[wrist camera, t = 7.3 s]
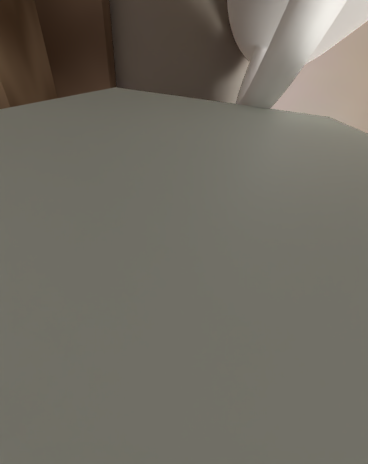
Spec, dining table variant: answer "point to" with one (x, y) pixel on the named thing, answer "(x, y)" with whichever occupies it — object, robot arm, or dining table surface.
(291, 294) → the tray
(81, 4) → the brown wooden compartment tray
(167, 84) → the dining table surface
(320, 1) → the mug
